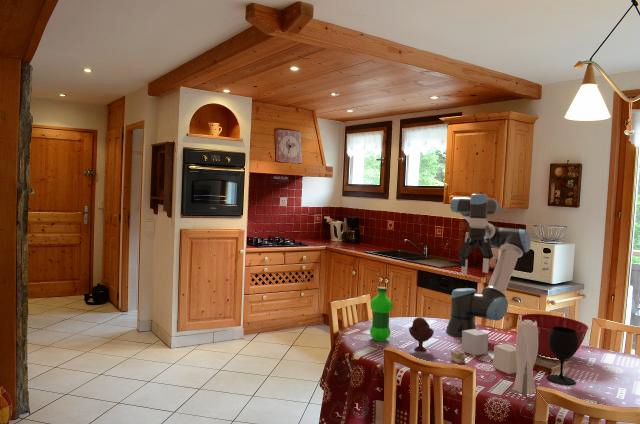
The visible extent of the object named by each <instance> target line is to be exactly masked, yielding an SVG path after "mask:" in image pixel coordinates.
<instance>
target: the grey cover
mask: <svg viewBox="0 0 640 424" xmlns="http://www.w3.org/2000/svg"><path fill="white" fill-rule="evenodd" d="M489 335H490V334H489V333H488V332H485V331H482V330H480V329H477V328H476V329H471V330H464V331H462V337H461V347H460V349H461V350H460V351H463V352H465V353H467V354H469V355H472V356H473V357H474V356H480V355H486V354H488V349H489V346H488V345H489Z"/></svg>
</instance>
